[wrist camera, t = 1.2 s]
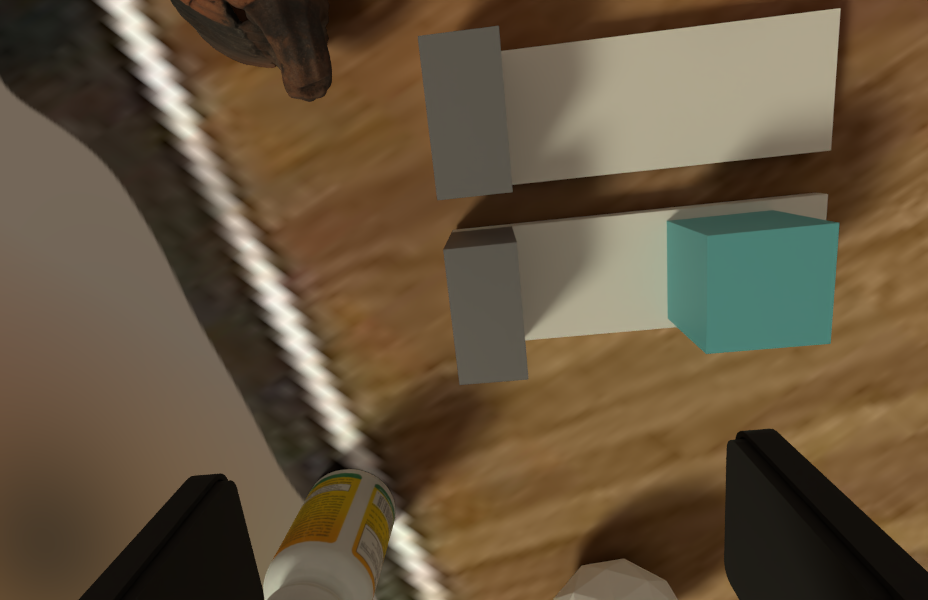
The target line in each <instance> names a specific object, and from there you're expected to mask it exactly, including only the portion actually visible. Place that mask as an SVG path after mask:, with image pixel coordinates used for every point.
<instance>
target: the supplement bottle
mask: <svg viewBox="0 0 928 600" xmlns="http://www.w3.org/2000/svg"><path fill="white" fill-rule="evenodd" d="M394 519H395V503H394V499H393V496H392V494H391V492H390V490H389V489H388V488H387V486H386V485H385V484H384V483H383V482H382V481H381V480H380V479H378V478H377V477H376V476H374V475H372V474H370V473H368V472H365V471H362V470H357V469H345V470H338V471H334V472H331V473H329V474H327V475H325V476H324V477H322V478H321V479H320V480H319V481H318V482H317V483H316V484H315V485H314V486H313V488H312V490H311V491H310V493H309V495H308V496H307V498H306V500H305V502H304V504H303V506H302V507H301V509H300V511H299V513H298V515H297V517H296V518H295V520H294V522H293V524H292V526H291V527H290V529H289V531H288V533H287V535H286V537H285V539H284V540H283V542H282V544H281V546H280V548H279V550H278V551H277V553H276V555H275V556H274V558H273V560H272V562H271V564H270V566H269V568H268V570H267V573H266V575H265V580H264V588H263V589H264V599H265V600H373V597H374V594H375V590H376V586H377V582H378V579H379V575H380V571H381V568H382V564H383V560H384V557H385V553H386V550H387V546H388V542H389V538H390V535H391V531H392V528H393V524H394Z"/></svg>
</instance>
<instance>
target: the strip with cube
mask: <svg viewBox="0 0 928 600" xmlns="http://www.w3.org/2000/svg"><path fill="white" fill-rule="evenodd" d="M827 202H828V194H824V193H806V194H797V195H787V196H777V197H768V198H758V199H748V200H738V201H729V202H719V203H709V204H699V205H690V206H680V207H670V208H661V209H651V210H641V211H631V212H622V213H612V214H602V215H592V216H583V217H573V218H563V219H554V220H544V221H534V222H524V223H515V224H505V225H495V226H486V227H476V228H466V229H456V230H453V231H452V233H451V235H450V237H449V239H448V241H447V243H446V245H445V247H444V249H443V251H444V260H445V268H446V276H447V285H448V293H449V301H450V310H451V318H452V326H453V335H454V343H455V351H456V360H457V368H458V376H459V385H465V384H478V383H490V382H502V381H515V380H527V379H528V369H527V357H526V345H525V340H533V339H545V338H556V337H568V336H579V335H591V334H602V333H614V332H625V331H637V330H649V329H660V328H672V327H676V326H675V325H674V324H673V323H672V322H671V321H670V320H669V319H668V303H667V221H670V220H680V219H690V218H700V217H710V216H720V215H729V214H739V213H749V212H759V211H769V210H775V211H780V212H786V213H791V214H796V215H801V216H806V217H812V218H817V219H822V220H826V217H827Z"/></svg>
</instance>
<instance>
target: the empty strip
mask: <svg viewBox="0 0 928 600" xmlns="http://www.w3.org/2000/svg"><path fill="white" fill-rule="evenodd" d="M840 10H841V8H837V9H829V10H821V11H813V12H806V13H798V14H790V15H782V16H774V17H766V18H758V19H750V20H742V21H734V22H727V23H719V24H711V25H703V26H695V27H687V28H679V29H671V30H663V31H655V32H648V33H640V34H632V35H624V36H616V37H608V38H600V39H592V40H584V41H577V42H569V43H561V44H553V45H545V46H537V47H529V48H521V49H513V50H505V51H501V46H500V34H499V26H492V27H485V28H477V29H469V30H462V31H454V32H446V33H438V34H431V35H423V36H418V43H419V51H420V60H421V68H422V76H423V85H424V93H425V101H426V110H427V118H428V126H429V135H430V143H431V151H432V160H433V168H434V176H435V185H436V193H437V200H444V199H454V198H463V197H472V196H482V195H491V194H500V193H510V192H513V190H512V185H516V184H525V183H534V182H544V181H553V180H562V179H571V178H580V177H590V176H599V175H608V174H617V173H627V172H636V171H645V170H654V169H664V168H673V167H682V166H691V165H701V164H710V163H719V162H728V161H738V160H747V159H756V158H765V157H775V156H784V155H793V154H802V153H812V152H821V151H830V150H831V143H832V128H833V113H834V99H835V84H836V69H837V54H838V39H839V25H840Z"/></svg>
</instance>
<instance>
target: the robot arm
mask: <svg viewBox="0 0 928 600" xmlns="http://www.w3.org/2000/svg"><path fill="white" fill-rule="evenodd" d="M724 565H725V570H726V574H727V577H728V580H729V582H730V584H731V586H732V588H733V590H734V591H735V593H736V595H737V596H738V598H739V600H928V572H927V571H926V570H925V569H924V568H923V567H922V566H921V565H920V564H918V563H917V562H916V561H915V560H914V559H913V558H912V557H911V556H910V555H909V554H908V553H907V552H906V551H905V550H903V549H902V548H901V547H900V546H899V545H898V544H897V543H896V542H895V541H894V540H893V539H892V538H891V537H890V536H888V535H887V534H886V533H885V532H884V531H883V530H882V529H881V528H880V527H879V526H878V525H877V524H876V523H874V522H873V521H872V520H871V519H870V518H869V517H868V516H867V515H866V514H865V513H864V512H863V511H862V510H861V509H859V508H858V507H857V506H856V505H855V504H854V503H853V502H852V501H851V500H850V499H849V498H848V497H847V496H846V495H844V494H843V493H842V492H841V491H840V490H839V489H838V488H837V487H836V486H835V485H834V484H833V483H832V482H831V481H829V480H828V479H827V478H826V477H825V476H824V475H823V474H822V473H821V472H820V471H819V470H818V469H817V468H815V467H814V466H813V465H812V464H811V463H810V462H809V461H808V460H807V459H806V458H805V457H804V456H803V455H802V454H800V453H799V452H798V451H797V450H796V449H795V448H794V447H793V446H792V445H791V444H790V443H789V442H788V441H787V440H785V439H784V438H783V437H782V436H781V435H780V434H779V433H778V432H777V431H775V430H774V429H761V430H749V431H740V432H738V433H737V435H736V439H735V440H730V441H728V444H727V457H726V502H725V548H724ZM79 600H264V593H263V589H262V585H261V581H260V577H259V573H258V569H257V565H256V561H255V558H254V553H253V549H252V546H251V541H250V538H249V534H248V530H247V526H246V523H245V518H244V514H243V510H242V506H241V502H240V498H239V494H238V490H237V487H236V485H235V483H234V482H233V481H231V480H230V481H228V479H227V477H226V476H225V475H223V474H210V475H198V476H191V477H190V478H188V479H187V480H186V481H185V482H184V484H183V485H182V486H181V487H180V488H179V489H178V490H177V491H176V493H174V495H173V496H172V497H171V498H170V499H169V500H168V501H167V502H166V503H165V505H164V506H163V507H162V508H161V509H160V510H159V511H158V512H157V513H156V515H155V516H154V517H153V518H152V519H151V520H150V521H149V522H148V523H147V524H146V526H145V527H144V528H143V529H142V530H141V532H139V534H137V536H136V537H135V538H134V539H133V540H132V541H131V542H130V543H129V545H128V546H127V547H126V548H125V549H124V550H123V551H122V552H121V553H120V555H119V556H118V557H117V558H116V559H115V560H114V561H113V562H112V563H111V564H110V565H109V567H108V568H107V569H106V570H105V571H104V572H103V573H102V574H101V576H100V577H99V578H98V579H97V580H96V581H95V582H94V583H93V584H92V585H91V587H90V588H89V589H88V590H87V591H86V592H85V593H84V594H83V595H82V597H81V598H80V599H79Z"/></svg>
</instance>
